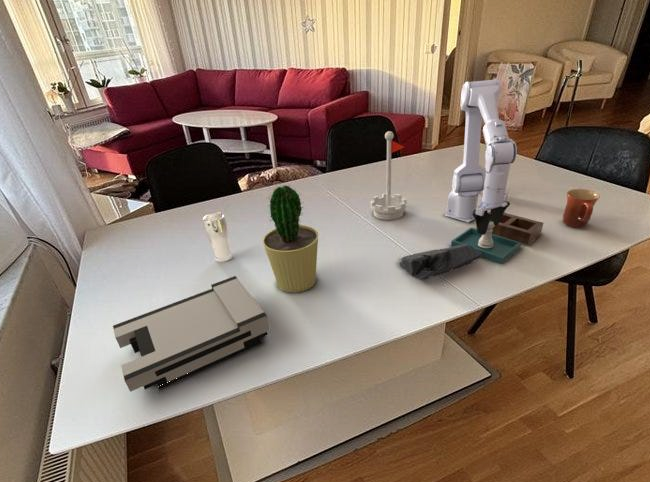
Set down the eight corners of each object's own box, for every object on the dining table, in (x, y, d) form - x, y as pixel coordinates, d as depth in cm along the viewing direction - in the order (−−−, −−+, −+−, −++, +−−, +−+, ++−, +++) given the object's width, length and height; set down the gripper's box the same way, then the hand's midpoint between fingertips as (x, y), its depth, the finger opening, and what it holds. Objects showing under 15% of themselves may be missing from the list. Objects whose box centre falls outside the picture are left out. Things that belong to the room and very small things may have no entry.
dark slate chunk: (491, 264, 110) (491, 248, 108) (418, 283, 107) (418, 267, 105) (460, 246, 123) (460, 232, 121) (395, 262, 120) (394, 248, 118)
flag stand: (366, 219, 146) (365, 136, 129) (375, 204, 155) (375, 126, 139) (402, 222, 141) (405, 137, 124) (409, 207, 151) (412, 126, 134)
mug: (555, 217, 133) (563, 189, 127) (584, 217, 131) (593, 188, 125) (566, 234, 123) (575, 204, 118) (598, 235, 121) (609, 204, 116)
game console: (123, 346, 99) (110, 321, 94) (241, 299, 111) (235, 275, 106) (136, 403, 83) (122, 376, 79) (272, 341, 95) (266, 315, 91)
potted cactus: (304, 302, 107) (290, 199, 91) (260, 289, 114) (240, 191, 98) (332, 273, 117) (324, 177, 101) (290, 263, 125) (276, 171, 109)
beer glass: (238, 252, 134) (228, 212, 125) (228, 263, 128) (217, 222, 120) (220, 251, 136) (210, 211, 128) (209, 261, 131) (198, 221, 122)
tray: (450, 246, 124) (451, 240, 123) (470, 232, 130) (470, 227, 129) (501, 263, 113) (502, 258, 112) (520, 248, 119) (521, 242, 118)
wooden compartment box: (477, 229, 131) (479, 218, 129) (491, 220, 136) (493, 209, 134) (527, 245, 120) (530, 233, 118) (540, 234, 125) (543, 222, 123)
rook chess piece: (475, 243, 123) (478, 220, 119) (489, 241, 123) (493, 218, 119) (481, 250, 119) (485, 226, 115) (495, 248, 120) (500, 224, 115)
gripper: (496, 197, 104) (488, 242, 112) (521, 180, 112) (512, 223, 119) (471, 191, 109) (465, 234, 116) (497, 176, 117) (490, 217, 124)
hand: (487, 228), depth 118 cm, fingers open, 7 cm apart
